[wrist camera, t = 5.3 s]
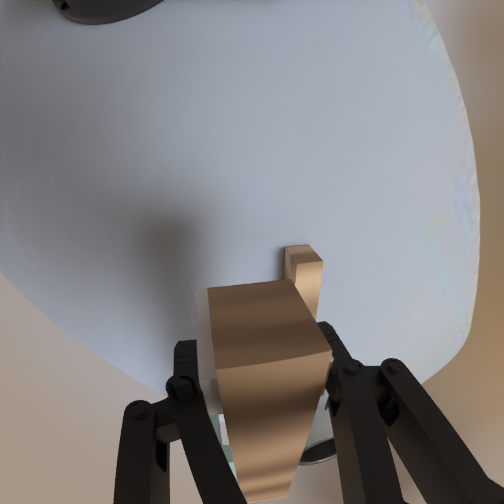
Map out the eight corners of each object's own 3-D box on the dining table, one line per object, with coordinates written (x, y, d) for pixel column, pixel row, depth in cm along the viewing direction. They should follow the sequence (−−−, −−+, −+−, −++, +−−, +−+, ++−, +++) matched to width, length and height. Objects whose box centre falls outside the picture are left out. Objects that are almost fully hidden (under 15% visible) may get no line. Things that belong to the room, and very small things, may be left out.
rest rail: (285, 247, 31) (296, 263, 27) (309, 244, 31) (323, 261, 28) (280, 330, 36) (289, 351, 32) (301, 327, 36) (311, 347, 33)
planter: (276, 425, 48) (290, 471, 38) (273, 392, 42) (291, 448, 32) (335, 409, 49) (354, 451, 39) (343, 373, 44) (370, 422, 34)
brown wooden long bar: (206, 287, 13) (214, 370, 8) (291, 278, 14) (334, 350, 9) (234, 463, 22) (243, 504, 18) (274, 457, 23) (285, 497, 18)
